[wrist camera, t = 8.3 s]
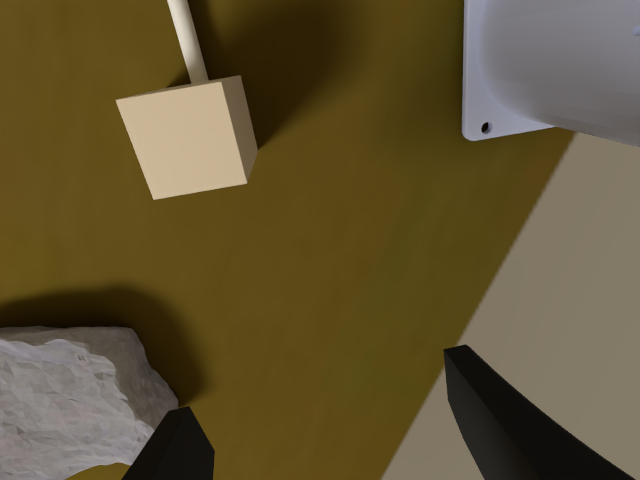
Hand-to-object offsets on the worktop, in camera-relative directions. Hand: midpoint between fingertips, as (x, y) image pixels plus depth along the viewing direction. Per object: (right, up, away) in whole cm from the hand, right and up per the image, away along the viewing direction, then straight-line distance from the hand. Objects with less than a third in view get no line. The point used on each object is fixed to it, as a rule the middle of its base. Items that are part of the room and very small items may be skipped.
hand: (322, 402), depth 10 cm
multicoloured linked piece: (-6, +15, +3) cm, 16 cm away
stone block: (-16, -3, +12) cm, 20 cm away
